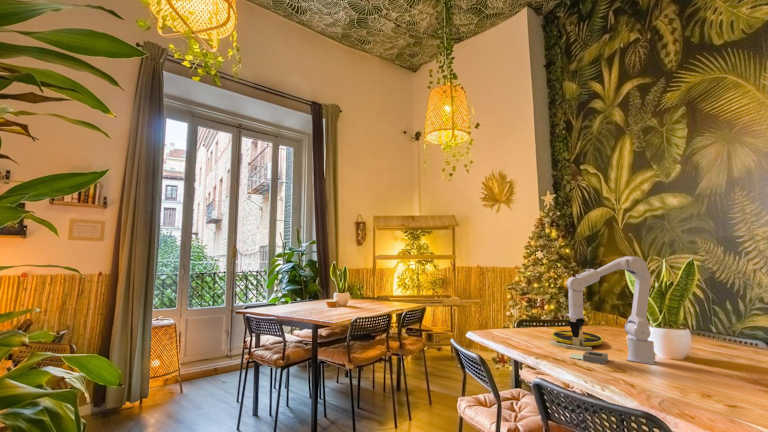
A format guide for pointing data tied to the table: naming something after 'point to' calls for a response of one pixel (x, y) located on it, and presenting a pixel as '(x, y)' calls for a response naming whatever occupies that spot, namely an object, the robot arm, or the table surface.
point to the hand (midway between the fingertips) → (576, 336)
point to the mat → (576, 356)
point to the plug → (579, 339)
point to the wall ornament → (567, 338)
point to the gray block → (595, 357)
